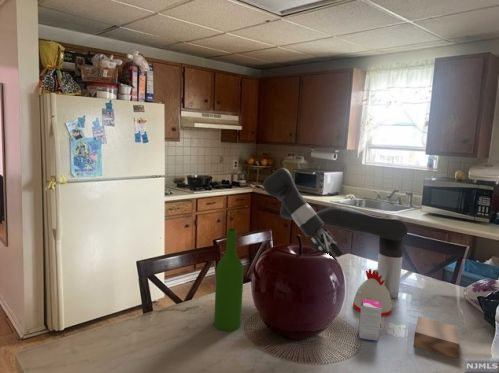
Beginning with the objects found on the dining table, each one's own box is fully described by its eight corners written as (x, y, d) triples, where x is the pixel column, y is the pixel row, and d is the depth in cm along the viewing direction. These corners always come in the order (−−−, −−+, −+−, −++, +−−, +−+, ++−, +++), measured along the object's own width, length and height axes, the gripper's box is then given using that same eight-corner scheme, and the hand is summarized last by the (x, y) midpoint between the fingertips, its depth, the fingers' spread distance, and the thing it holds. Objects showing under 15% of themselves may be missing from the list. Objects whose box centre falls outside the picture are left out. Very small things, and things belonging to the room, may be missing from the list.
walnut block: (413, 346, 116) (415, 331, 115) (416, 330, 127) (418, 316, 126) (456, 359, 110) (458, 343, 110) (456, 341, 121) (458, 326, 120)
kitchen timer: (369, 297, 150) (372, 262, 148) (398, 312, 139) (403, 273, 137) (345, 304, 143) (348, 267, 141) (375, 320, 131) (379, 280, 129)
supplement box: (378, 342, 117) (382, 308, 115) (359, 339, 118) (362, 306, 116) (376, 333, 122) (379, 300, 121) (357, 330, 123) (360, 298, 122)
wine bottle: (245, 321, 125) (250, 228, 121) (233, 334, 117) (238, 234, 113) (222, 315, 129) (226, 224, 125) (209, 326, 121) (212, 230, 117)
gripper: (305, 222, 133) (334, 259, 130) (292, 230, 120) (323, 271, 117) (321, 210, 130) (351, 247, 127) (309, 216, 117) (341, 258, 114)
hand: (337, 258), depth 122 cm, fingers open, 8 cm apart
